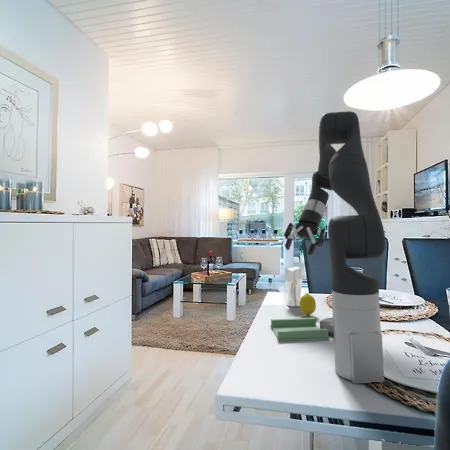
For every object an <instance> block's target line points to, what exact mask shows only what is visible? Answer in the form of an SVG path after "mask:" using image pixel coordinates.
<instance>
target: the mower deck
mask: <svg viewBox="0 0 450 450" xmlns="http://www.w3.org/2000/svg"><path fill="white" fill-rule="evenodd" d="M319 329H328V337H329V336H330V337H333V338H334V331H333V317H326V318H323V319H321V320H320V321H319Z"/></svg>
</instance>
